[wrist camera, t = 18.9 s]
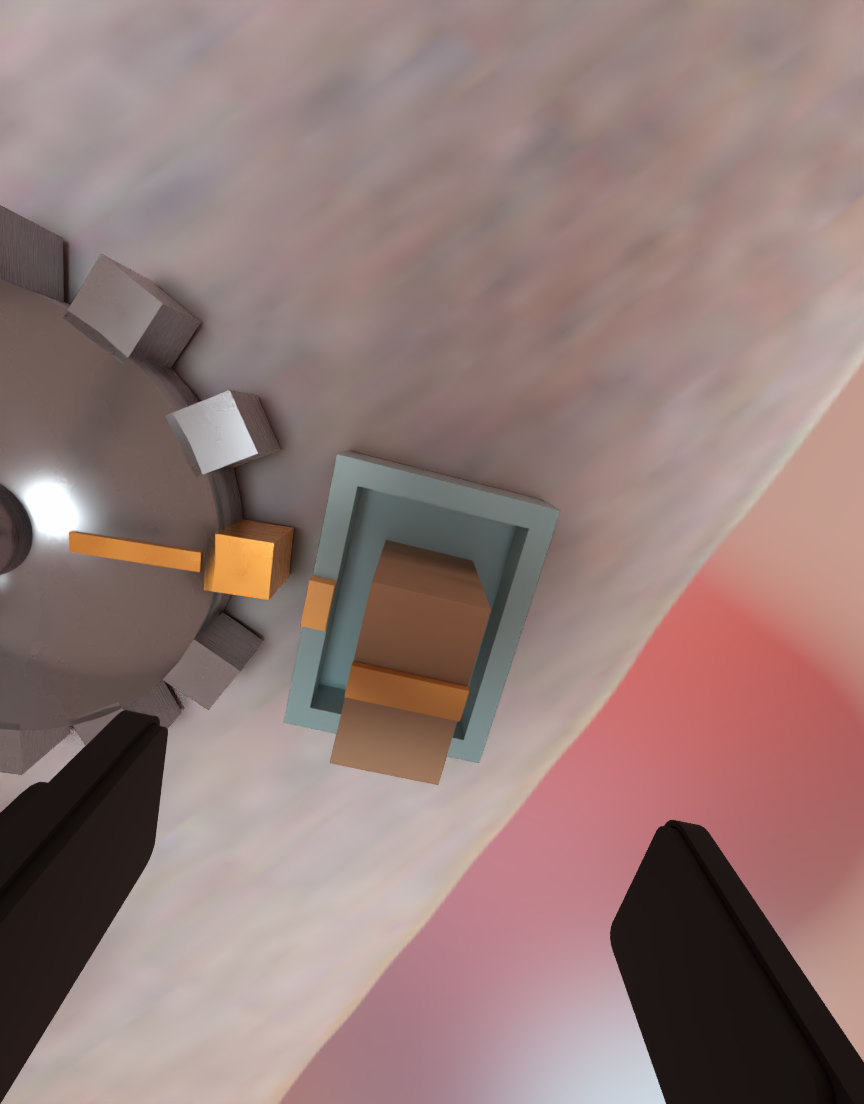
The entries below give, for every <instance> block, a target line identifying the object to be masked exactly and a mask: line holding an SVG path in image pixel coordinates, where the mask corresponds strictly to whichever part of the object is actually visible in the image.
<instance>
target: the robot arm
mask: <svg viewBox="0 0 864 1104" xmlns="http://www.w3.org/2000/svg"><path fill="white" fill-rule="evenodd" d="M167 737H168V729H167V728H166V727H163V726H160V720H159V717H157V716H153V715H148V714H143V713H138V712H133V711H128V710H124V711H121V712H120V713H119V714H118V715H116V716H115V717H114V718H113V719H112V720H111V721H110V722H109V723H108V724H107V725H106V726H105V727H104V728H103V729H102V730H101V731H100V732H99V733H98V734H97V735H96V736H95V737H94V738H93V739H92V740H91V741H90V742H89V743H88V744H87V745H86V746H85V747H84V748H83V749H82V750H81V751H80V752H79V753H78V754H77V755H76V756H75V757H74V758H73V759H72V760H71V761H70V762H69V763H68V764H67V765H66V766H65V767H64V768H63V769H62V770H61V771H60V772H59V773H58V774H57V775H56V776H55V777H54V778H53V779H52V780H51V781H50V782H49V783H46V782H38V783H36V784H34V785H31V786H30V787H29V788H27V789H26V790H25V791H24V792H22V793H21V794H20V795H19V796H18V797H17V798H16V799H15V800H14V801H13V802H11V803H10V804H9V805H8V806H7V807H6V808H5V809H4V810H3V811H2V812H1V813H0V1104H1V1102H2V1100H3V1099H4V1097H5V1095H6V1094H7V1092H8V1091H9V1089H10V1087H11V1086H12V1084H13V1082H14V1081H15V1079H16V1077H17V1076H18V1074H19V1073H20V1071H21V1069H22V1068H23V1066H24V1064H25V1063H26V1061H27V1060H28V1058H29V1056H30V1055H31V1053H32V1051H33V1050H34V1048H35V1046H36V1045H37V1043H38V1042H39V1040H40V1038H41V1037H42V1035H43V1033H44V1032H45V1030H46V1029H47V1027H48V1025H49V1024H50V1022H51V1020H52V1019H53V1017H54V1015H55V1014H56V1012H57V1011H58V1009H59V1007H60V1006H61V1004H62V1002H63V1001H64V999H65V998H66V996H67V994H68V993H69V991H70V989H71V988H72V986H73V984H74V983H75V981H76V980H77V978H78V976H79V975H80V973H81V971H82V970H83V968H84V967H85V965H86V963H87V962H88V960H89V958H90V957H91V955H92V953H93V952H94V950H95V949H96V947H97V945H98V944H99V942H100V940H101V939H102V937H103V936H104V934H105V932H106V931H107V929H108V927H109V926H110V924H111V922H112V921H113V919H114V918H115V916H116V914H117V913H118V911H119V909H120V908H121V906H122V905H123V903H124V901H125V900H126V898H127V896H128V895H129V893H130V891H131V890H132V888H133V887H134V885H135V883H136V882H137V880H138V878H139V877H140V875H141V874H142V872H143V870H144V869H145V867H146V865H147V863H148V861H149V859H150V857H151V854H152V851H153V848H154V844H155V838H156V829H157V821H158V812H159V804H160V796H161V787H162V779H163V770H164V762H165V754H166V745H167ZM610 940H611V946H612V949H613V953H614V956H615V958H616V961H617V964H618V967H619V970H620V973H621V975H622V978H623V981H624V984H625V987H626V990H627V993H628V996H629V998H630V1001H631V1004H632V1007H633V1010H634V1013H635V1015H636V1019H637V1022H638V1024H639V1027H640V1030H641V1033H642V1036H643V1039H644V1042H645V1044H646V1047H647V1050H648V1053H649V1056H650V1059H651V1062H652V1064H653V1067H654V1070H655V1073H656V1076H657V1079H658V1082H659V1085H660V1087H661V1090H662V1093H663V1096H664V1099H665V1102H666V1104H864V1062H863V1060H862V1059H861V1057H860V1056H859V1055H858V1053H857V1052H856V1050H855V1049H854V1047H853V1046H852V1044H851V1043H850V1041H849V1040H848V1038H847V1037H846V1035H845V1034H844V1032H843V1031H842V1029H841V1028H840V1026H839V1025H838V1023H837V1022H836V1020H835V1019H834V1017H833V1016H832V1015H831V1013H830V1011H829V1010H828V1009H827V1007H826V1006H825V1004H824V1003H823V1001H822V1000H821V998H820V997H819V995H818V994H817V992H816V991H815V989H814V988H813V987H812V985H811V983H810V982H809V980H808V979H807V977H806V976H805V975H804V973H803V971H802V970H801V968H800V967H799V966H798V964H797V963H796V961H795V960H794V958H793V957H792V955H791V954H790V952H789V951H788V949H787V948H786V946H785V945H784V943H783V942H782V941H781V939H780V937H779V936H778V935H777V933H776V932H775V930H774V928H773V927H772V925H771V924H770V923H769V921H768V920H767V918H766V917H765V915H764V914H763V912H762V911H761V909H760V908H759V906H758V905H757V903H756V902H755V900H754V899H753V898H752V896H751V894H750V893H749V891H748V890H747V888H746V887H745V885H744V884H743V883H742V881H741V880H740V878H739V877H738V875H737V874H736V872H735V871H734V869H733V868H732V866H731V865H730V863H729V862H728V860H727V859H726V857H725V856H724V855H723V853H722V851H721V850H720V848H719V847H718V845H717V844H716V842H715V841H714V840H713V838H712V837H711V835H710V834H709V832H708V831H707V830H706V829H705V828H704V827H702V826H700V825H696V824H691V823H686V822H681V821H676V820H670V821H668V822H667V823H666V824H665V826H661V827H659V828H658V830H657V831H656V833H655V835H654V837H653V839H652V841H651V843H650V846H649V848H648V850H647V852H646V854H645V856H644V858H643V860H642V862H641V864H640V866H639V869H638V871H637V873H636V875H635V877H634V879H633V881H632V883H631V885H630V887H629V889H628V891H627V894H626V896H625V898H624V900H623V902H622V904H621V906H620V908H619V910H618V912H617V914H616V917H615V919H614V921H613V923H612V926H611V931H610Z"/></svg>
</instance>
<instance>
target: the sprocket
mask: <svg viewBox="0 0 864 1104" xmlns="http://www.w3.org/2000/svg"><path fill="white" fill-rule="evenodd" d="M200 323H201V322H200V321H199V320H198V319H197V318H196V317H194V316H193V315H192V314H191V313H189V312H188V311H187V310H186V309H185V308H183V307H182V306H181V305H180V304H178V303H177V302H176V301H175V300H174V299H172V298H171V297H170V296H169V295H168V294H166V293H165V292H164V291H163V290H161V289H160V288H159V287H158V286H157V285H155V284H154V283H153V282H152V281H150V280H149V279H147V278H145V277H143V276H142V275H140V274H138V273H136V272H134V271H132V270H130V269H129V268H127V267H125V266H123V265H121V264H119V263H117V262H116V261H114V260H112V259H110V258H108V257H106V256H105V255H103V254H101V255H100V257H99V259H98V260H97V262H96V264H95V265H94V267H93V269H92V270H91V272H90V274H89V275H88V277H87V278H86V280H85V282H84V283H83V285H82V287H81V288H80V290H79V292H78V293H77V295H76V297H75V298H74V300H73V302H72V303H71V304H69V303H67V302H64V286H63V238H62V237H60V236H58V235H56V234H54V233H52V232H50V231H48V230H46V229H44V228H43V227H41V226H39V225H37V224H35V223H33V222H31V221H29V220H27V219H25V218H24V217H22V216H20V215H18V214H16V213H14V212H12V211H10V210H8V209H6V208H5V207H3V206H1V205H0V772H3V773H11V774H18V775H22V774H24V773H25V772H26V771H27V770H28V769H29V768H31V767H32V766H33V765H34V764H35V763H36V762H37V761H39V760H40V759H41V758H42V757H43V756H44V755H46V754H47V753H48V752H49V751H50V750H51V749H52V748H54V747H55V746H56V745H57V744H58V743H59V742H61V741H62V740H63V739H64V738H65V737H66V736H67V735H69V734H70V726H73V727H74V728H75V730H76V731H77V733H78V735H79V736H80V738H81V739H82V741H83V742H84V744H85V746H86V745H87V744H88V743H89V742H90V741H91V740H92V739H93V738H94V737H95V736H96V735H97V734H98V733H99V732H100V731H101V730H102V729H103V728H104V727H105V726H106V725H107V724H108V723H109V722H110V721H111V720H112V719H113V718H114V717H115V716H116V715H118V714H119V713H120V712H121V711H124V710H128V711H133V712H138V713H143V714H148V715H153V716H157V717H159V720H160V726H163V727H166V728H167V729H168V728H169V726H170V725H171V724H172V723H173V722H174V720H175V719H176V718H177V717H178V716H179V715H180V713H181V710H180V708H179V707H178V705H177V703H176V701H175V700H174V698H173V696H172V694H171V693H170V691H169V689H168V687H167V686H166V684H165V682H166V683H168V684H170V685H171V686H173V687H174V688H176V689H177V690H179V691H180V692H182V693H183V694H185V695H186V696H188V697H189V698H191V699H192V700H194V701H195V702H197V703H198V704H200V705H201V706H203V707H204V708H206V709H207V710H209V709H210V707H211V706H212V705H213V704H214V703H215V701H216V700H217V699H218V698H219V696H220V695H221V694H222V693H223V691H224V690H225V689H226V688H227V686H228V685H229V684H230V683H231V682H232V680H233V679H234V678H235V677H236V675H237V674H238V673H239V672H240V670H241V669H242V668H243V666H244V665H245V664H246V662H247V661H248V660H249V658H250V657H251V656H252V654H253V653H254V652H255V650H256V649H257V648H258V646H259V645H260V644H261V642H262V641H263V640H262V639H260V638H259V637H257V636H256V635H255V634H253V633H252V632H250V631H249V630H247V629H246V628H245V627H243V626H242V625H240V624H239V623H238V622H236V621H235V620H233V619H232V618H230V617H229V616H228V615H226V614H225V613H223V611H224V609H225V607H226V605H227V603H228V601H229V598H230V596H231V594H233V595H239V596H246V597H252V598H259V599H265V600H269V599H270V598H271V597H272V596H273V595H274V593H275V592H276V591H277V590H278V589H279V588H280V587H281V586H282V584H283V583H284V582H285V581H286V580H287V579H288V578H289V569H290V559H291V550H292V540H293V531H294V528H292V527H286V526H280V525H273V524H267V523H261V522H255V521H249V520H243V515H242V507H241V499H240V493H239V489H238V485H237V481H236V477H235V473H234V470H233V468H235V467H237V466H240V465H243V464H245V463H248V462H250V461H253V460H256V459H258V458H261V457H263V456H266V455H269V454H271V453H274V452H276V451H279V450H281V449H280V447H279V444H278V442H277V440H276V438H275V435H274V433H273V431H272V429H271V426H270V424H269V422H268V419H267V417H266V415H265V413H264V410H263V408H262V406H261V403H260V401H259V399H258V397H257V395H252V394H247V393H242V392H237V391H232V390H228V391H226V392H223V393H221V394H218V395H216V396H213V397H211V398H208V399H206V400H203V401H201V402H199V401H198V400H197V398H196V397H195V395H194V394H193V393H192V391H191V390H190V389H189V388H188V386H187V385H186V384H185V383H184V382H183V381H182V380H181V379H180V378H179V376H178V375H177V374H176V373H175V372H174V371H173V370H172V369H171V367H172V365H173V364H174V362H175V361H176V359H177V358H178V356H179V355H180V353H181V352H182V350H183V349H184V347H185V346H186V344H187V343H188V341H189V340H190V338H191V337H192V335H193V334H194V332H195V331H196V329H197V328H198V326H199V325H200ZM164 681H165V682H164Z"/></svg>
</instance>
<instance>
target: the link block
mask: <svg viewBox="0 0 864 1104" xmlns="http://www.w3.org/2000/svg"><path fill="white" fill-rule="evenodd" d="M490 611H491V608H490V605H489V603H488V600H487V597H486V595H485V592H484V589H483V587H482V584H481V581H480V579H479V576H478V573H477V571H476V568H475V565H474V563H473V561H472V560H468V559H464V558H460V557H455V556H451V555H447V554H443V553H439V552H435V551H431V550H426V549H422V548H418V547H414V546H410V545H406V544H402V543H397V542H393V541H389V540H386V541H385V544H384V547H383V550H382V553H381V556H380V559H379V562H378V565H377V568H376V571H375V574H374V577H373V580H372V584H371V588H370V592H369V597H368V601H367V605H366V609H365V614H364V618H363V622H362V627H361V631H360V635H359V639H358V644H357V648H356V652H355V657H354V661H353V662H352V666H351V670H350V674H349V678H348V683H347V687H346V691H345V696H344V697H345V699H344V704H343V708H342V712H341V716H340V721H339V725H338V729H337V734H336V738H335V742H334V746H333V751H332V755H331V759H330V763H332V764H337V765H342V766H347V767H351V768H356V769H361V770H366V771H371V772H376V773H381V774H386V775H391V776H396V777H401V778H406V779H411V780H416V781H421V782H426V783H431V784H436V785H438V784H439V780H440V777H441V774H442V770H443V767H444V764H445V761H446V757H447V754H448V751H449V747H450V744H451V741H452V737H453V734H454V731H455V727H456V724H457V721H459V722H460V720H461V717H462V713H463V710H464V707H465V703H466V700H467V697H468V694H469V687H468V684H469V681H470V678H471V674H472V671H473V668H474V664H475V661H476V658H477V654H478V651H479V648H480V645H481V641H482V638H483V635H484V631H485V628H486V625H487V621H488V618H489V615H490Z"/></svg>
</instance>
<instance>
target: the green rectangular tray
mask: <svg viewBox="0 0 864 1104" xmlns="http://www.w3.org/2000/svg"><path fill="white" fill-rule="evenodd" d="M559 514H560V510H558V509H557V508H555V507H553V506H552V505H550V504H548V503H547V502H545V501H543V500H541V499H537V498H533V497H529V496H525V495H521V494H518V493H514V492H510V491H506V490H502V489H498V488H494V487H490V486H486V485H482V484H478V483H474V482H470V481H466V480H462V479H459V478H455V477H451V476H447V475H443V474H439V473H435V472H431V471H427V470H423V469H419V468H415V467H411V466H407V465H403V464H400V463H396V462H392V461H388V460H384V459H380V458H376V457H372V456H368V455H364V454H360V453H356V452H352V451H346V452H343V453H340V454H337V458H336V463H335V468H334V473H333V478H332V483H331V488H330V493H329V498H328V503H327V508H326V513H325V518H324V523H323V528H322V532H321V537H320V542H319V547H318V552H317V557H316V562H315V567H314V572H313V576H312V577H311V579H310V580H309V585H308V590H307V595H306V600H305V605H304V610H303V615H302V620H301V625H300V626H303V627H302V632H301V637H300V642H299V647H298V652H297V657H296V662H295V667H294V672H293V677H292V682H291V687H290V692H289V697H288V702H287V707H286V712H285V717H284V721H283V723H287V724H292V725H297V726H302V727H307V728H311V729H316V730H321V731H326V732H331V733H336V734H337V729H338V725H339V721H340V716H341V712H342V708H343V704H344V699H345V697H344V696H345V691H346V687H347V683H348V678H349V674H350V670H351V666H352V662H353V661H354V657H355V652H356V648H357V644H358V639H359V635H360V631H361V627H362V622H363V618H364V614H365V609H366V605H367V601H368V597H369V592H370V588H371V584H372V580H373V577H374V574H375V571H376V568H377V565H378V562H379V559H380V556H381V553H382V550H383V547H384V544H385V541H386V540H389V541H393V542H397V543H402V544H406V545H410V546H414V547H418V548H422V549H426V550H431V551H435V552H439V553H443V554H447V555H451V556H455V557H460V558H464V559H468V560H472V561H473V563H474V565H475V568H476V571H477V573H478V576H479V579H480V581H481V584H482V587H483V589H484V592H485V595H486V597H487V600H488V603H489V605H490V608H491V611H490V615H489V618H488V621H487V625H486V628H485V631H484V635H483V638H482V641H481V645H480V648H479V651H478V654H477V658H476V661H475V664H474V668H473V671H472V674H471V678H470V681H469V684H468V687H469V694H468V697H467V700H466V703H465V707H464V710H463V713H462V717H461V720H460V722H459V721H457V724H456V727H455V731H454V734H453V737H452V741H451V744H450V747H449V751H448V754H447V757H452V758H456V759H461V760H466V761H471V762H476V763H479V762H480V759H481V756H482V753H483V750H484V747H485V744H486V740H487V737H488V734H489V731H490V728H491V725H492V722H493V719H494V716H495V712H496V709H497V706H498V703H499V700H500V697H501V694H502V691H503V688H504V685H505V681H506V678H507V675H508V672H509V669H510V666H511V663H512V660H513V657H514V654H515V650H516V647H517V644H518V641H519V638H520V635H521V632H522V629H523V626H524V622H525V619H526V616H527V613H528V610H529V607H530V604H531V601H532V598H533V595H534V591H535V588H536V585H537V582H538V579H539V576H540V573H541V570H542V567H543V563H544V560H545V557H546V554H547V551H548V548H549V545H550V542H551V539H552V536H553V532H554V529H555V526H556V523H557V520H558V517H559Z"/></svg>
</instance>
